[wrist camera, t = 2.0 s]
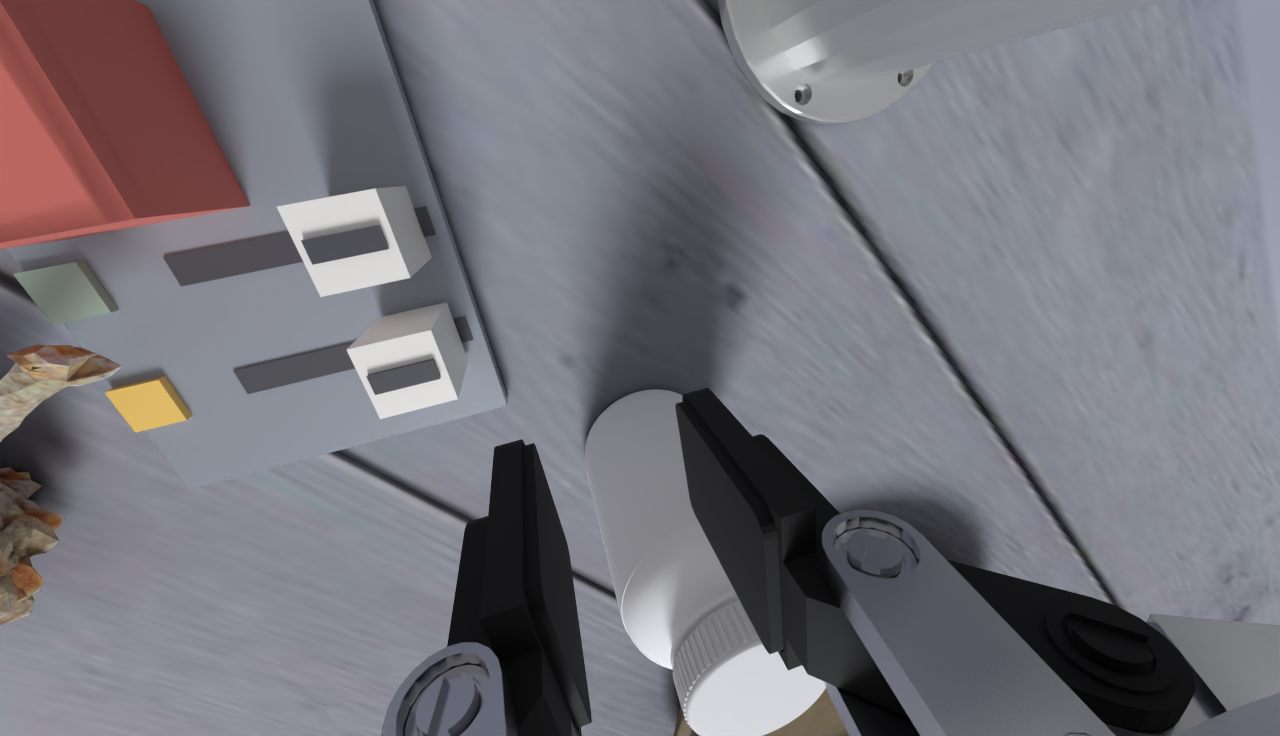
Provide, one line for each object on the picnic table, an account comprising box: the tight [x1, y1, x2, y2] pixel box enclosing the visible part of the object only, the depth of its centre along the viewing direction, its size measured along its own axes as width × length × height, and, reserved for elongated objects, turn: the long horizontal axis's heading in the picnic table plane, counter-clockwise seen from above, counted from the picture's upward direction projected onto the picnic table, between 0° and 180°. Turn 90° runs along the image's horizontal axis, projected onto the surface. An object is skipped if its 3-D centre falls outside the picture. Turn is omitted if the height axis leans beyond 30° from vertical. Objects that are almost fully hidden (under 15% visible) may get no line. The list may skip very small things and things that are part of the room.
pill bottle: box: [585, 389, 826, 736], centre depth 21 cm, size 8×8×15 cm
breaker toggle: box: [347, 302, 468, 419], centre depth 19 cm, size 3×3×4 cm
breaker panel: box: [6, 0, 508, 490], centre depth 17 cm, size 15×18×6 cm
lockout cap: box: [0, 0, 250, 249], centre depth 13 cm, size 6×6×6 cm
